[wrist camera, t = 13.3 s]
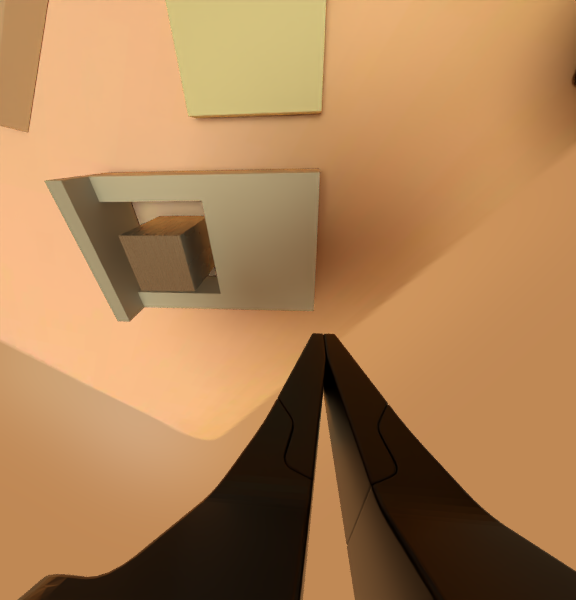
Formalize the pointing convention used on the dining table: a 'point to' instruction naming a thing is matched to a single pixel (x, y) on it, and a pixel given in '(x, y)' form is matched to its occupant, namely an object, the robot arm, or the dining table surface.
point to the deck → (221, 229)
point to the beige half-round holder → (19, 58)
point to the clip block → (169, 253)
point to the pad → (249, 56)
